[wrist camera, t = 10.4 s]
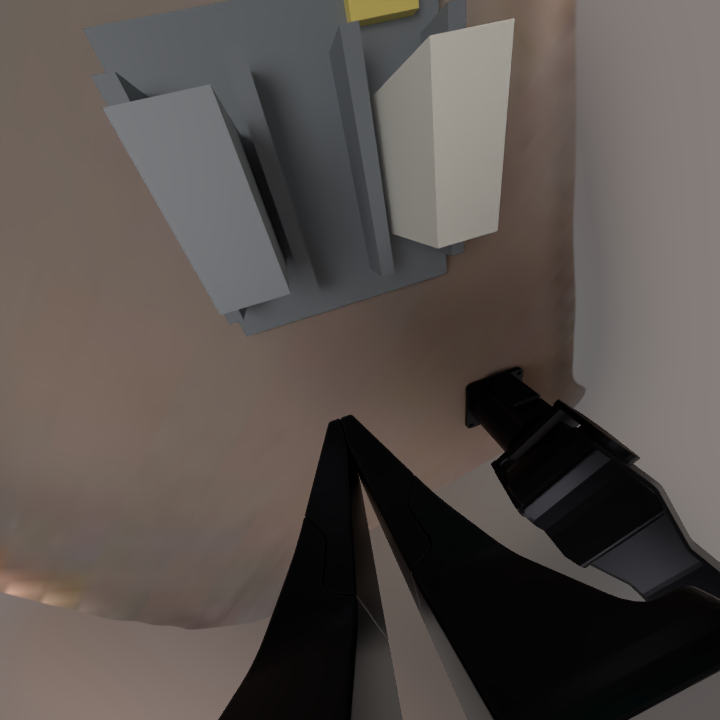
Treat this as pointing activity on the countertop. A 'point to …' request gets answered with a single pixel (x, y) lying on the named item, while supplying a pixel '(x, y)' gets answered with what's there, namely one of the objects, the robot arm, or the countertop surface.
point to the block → (445, 135)
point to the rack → (271, 144)
